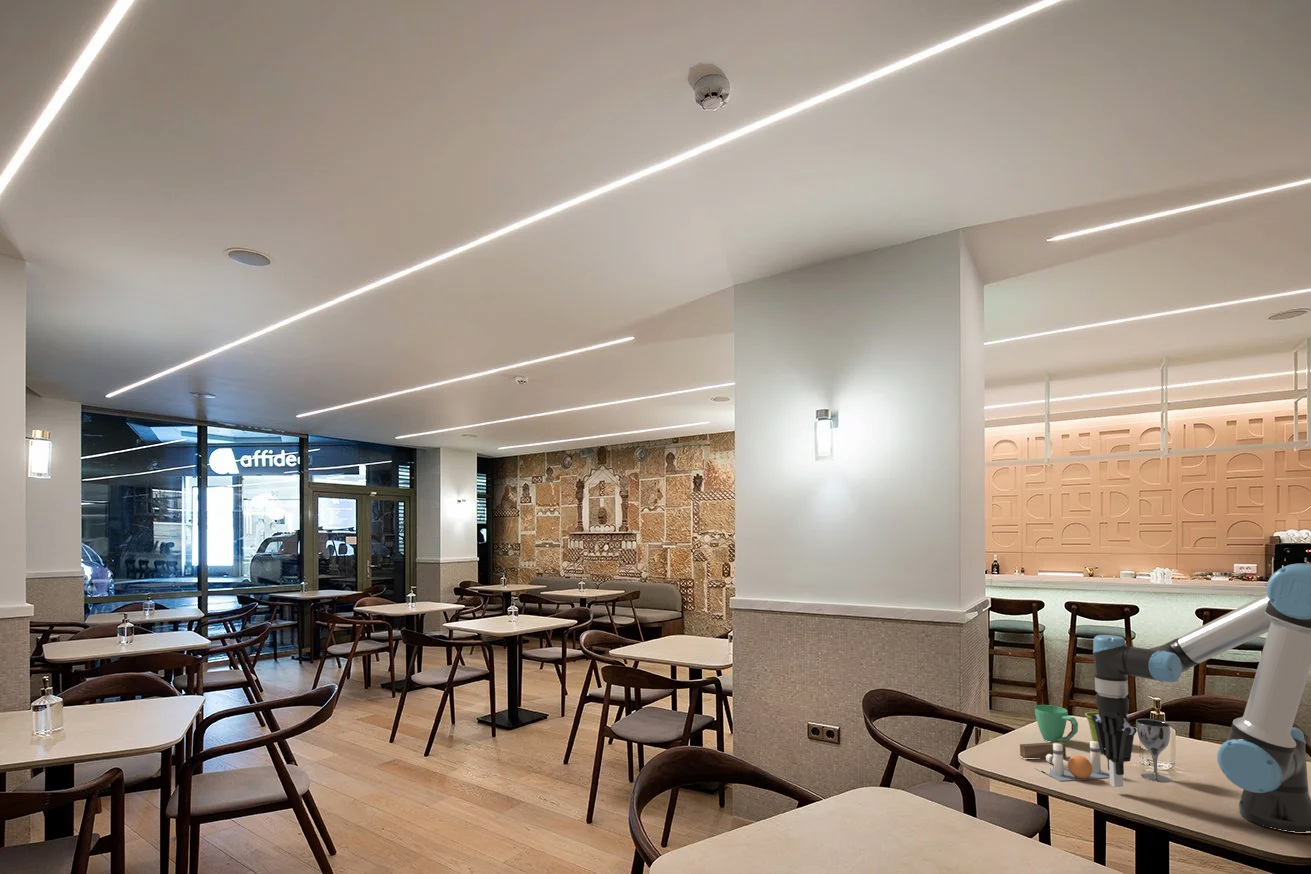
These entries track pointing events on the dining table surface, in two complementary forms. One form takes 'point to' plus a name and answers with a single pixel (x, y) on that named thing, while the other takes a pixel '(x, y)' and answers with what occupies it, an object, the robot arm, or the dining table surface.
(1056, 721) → the mug
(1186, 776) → the dining table surface
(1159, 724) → the wine glass
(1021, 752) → the back wall
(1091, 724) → the plant pot
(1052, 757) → the pin middle
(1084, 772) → the brown egg
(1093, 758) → the pin right
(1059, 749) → the pin left
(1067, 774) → the pin deck
